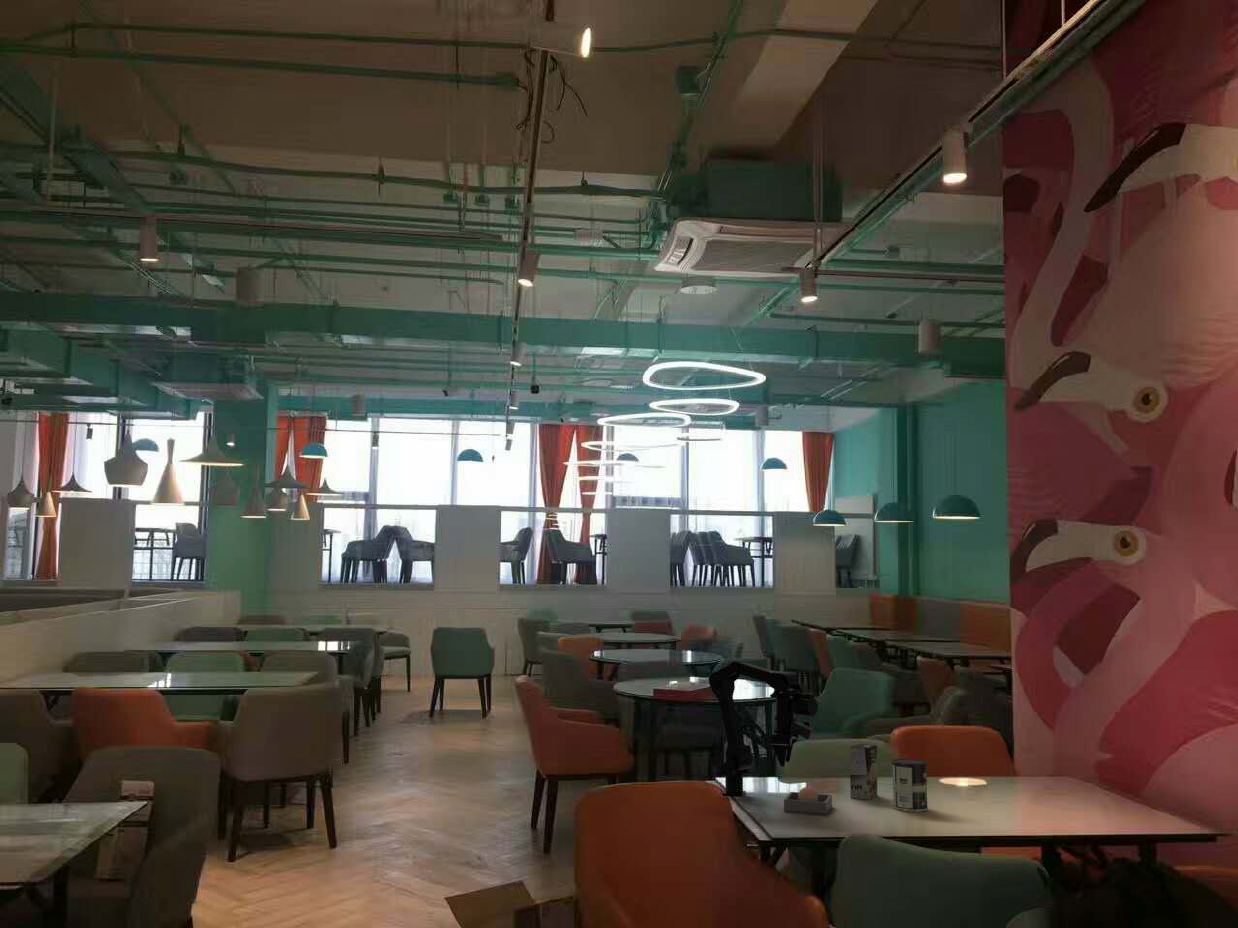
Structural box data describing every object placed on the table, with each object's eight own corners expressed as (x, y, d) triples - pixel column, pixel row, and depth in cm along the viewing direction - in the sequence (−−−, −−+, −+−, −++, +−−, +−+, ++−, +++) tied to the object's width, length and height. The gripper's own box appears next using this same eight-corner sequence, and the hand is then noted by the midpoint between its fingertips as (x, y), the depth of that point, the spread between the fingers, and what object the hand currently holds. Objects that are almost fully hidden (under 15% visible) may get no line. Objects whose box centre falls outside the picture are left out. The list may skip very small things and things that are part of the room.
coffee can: (926, 805, 312) (924, 759, 314) (929, 812, 302) (928, 764, 303) (891, 804, 314) (890, 757, 316) (893, 811, 304) (892, 762, 306)
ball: (799, 804, 309) (799, 784, 310) (819, 805, 307) (819, 785, 308) (796, 808, 303) (796, 788, 304) (816, 810, 301) (816, 789, 302)
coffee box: (869, 800, 319) (868, 748, 321) (850, 797, 323) (849, 746, 325) (878, 795, 327) (877, 744, 329) (858, 793, 330) (857, 742, 332)
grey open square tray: (791, 803, 313) (790, 791, 313) (832, 806, 309) (831, 794, 309) (783, 811, 301) (783, 799, 302) (826, 814, 297) (826, 802, 298)
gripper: (806, 718, 305) (806, 771, 303) (815, 711, 323) (815, 761, 321) (769, 715, 309) (769, 768, 307) (780, 709, 326) (780, 758, 324)
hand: (785, 764), depth 315 cm, fingers open, 9 cm apart
